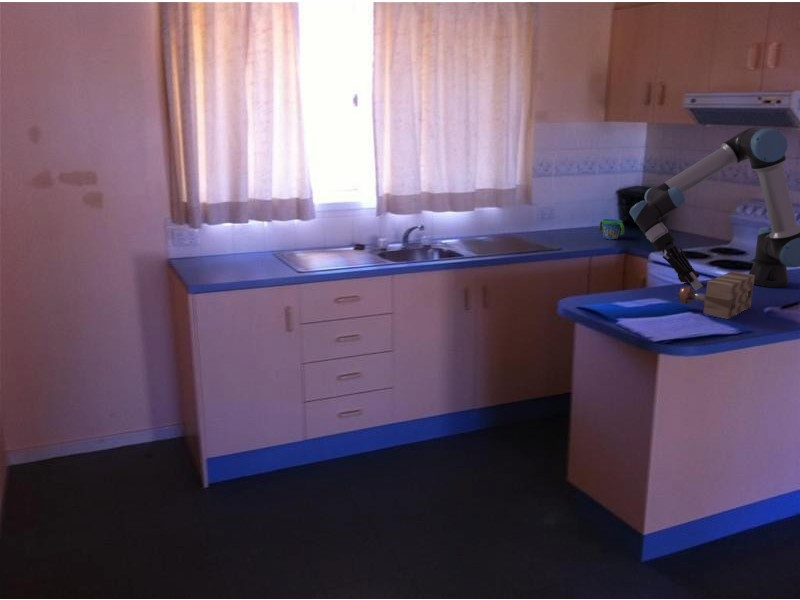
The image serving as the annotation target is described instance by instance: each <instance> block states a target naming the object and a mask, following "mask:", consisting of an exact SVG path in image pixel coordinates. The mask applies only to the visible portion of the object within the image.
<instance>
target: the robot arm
mask: <svg viewBox="0 0 800 600" xmlns="http://www.w3.org/2000/svg"><path fill="white" fill-rule="evenodd" d="M788 146H789V145H788V140H787V137H786V135H785V134H784V133H783V132H781V131H780V130H777V129H775V128H771V127H749V128H746V129H744V130H742V131H741V132H739V133H737V134H736V135H734V136H732V137H731V138H729V139H728V140H726V141H725V142H723V143H721V146H720V148H718V149H717V150H715V151H714V152H711V153H710V154H708V155H707V156H705V157H703V158H702V159H700V160H699V161H697V162H695V163H693V164H692V165H690V166H689V167H688V168H686V169H684V170H682V171H680V172H679V173H678V174H676V175H675V176H673V177H671V178H670V179H668V180H667V181H665V182H663V183H661V184H660V185H657V186H656V187H655V186H654V187H653V186H652V187H650V188H648V189H647V190H646V192H645V193H644V200H640V201H639V202H636V203H635V204H634V205H633V206H632V207H631V208H630V210H629V215H630V217H631V218H632V219H633V221H634V223H636V225H637V227H639V229H640V231H642V233H643V234H644V235H645V237H646V239H647V240H648V241H650V243H652V246H653V247H654V248H655V250H656V251H657V252H661V251H662V253H663V254H664V255H662V259H664V261H666V262H667V263H668V264H669V265H670V266H671V267H672V268H673V269H675V270H676V271H677V272H678V274H679V275H680V276H681V277H682V278H683V277H684V276H685V278H686V279H687V280H688V281H689V283H688V284H690V285H691V287H692V288H693V290H694V291H695V292H696V291H698V290H699V289H701V288H703V286H704V285H703V284H702V282H701V281H700V280H699V279H698V278H697V277H696V276H695V275H694V274H693V272H692V271H694V270H695V269H694V268H693V266H692V264H691V263H690V261H689V259H688V257H686V256H687V255H685V253H684V250H683V249H682V248H678V247H677V245H675V244H674V242H675V241H676V239H675V237H674V236H673V235H672V233H671V232H669V229H668V228H667V226H665V224H664V222H662V221H661V219H663V218H664V217H666V216H667V215H669V214H671V213H672V212H674V211H676V210H677V209H678V208H680V207H681V206H682V205H683V204H685V203H686V196H685V195H684V193H686V192H687V191H690V190H691V189H692V188H695V187H696V186H698V185H699V184H701V183H702V182H704V181H706V180H707V179H709V178H711V177H713V176H714V175H716V174H718V173H719V172H722V171H723V170H724V169H725V168H727V167H729V166H731V165H738V164H739V163H741V162H743V161H746V160H749V164H750V168H751V170H753V171H755V172H756V173H757V176H758V181H759V185H760V188H761V193H762V195H763V200H764V204H765V207H766V211H767V215H768V219H769V222H770V226H769V227H768V226H764V227H760V228H759V230H758V232H757V237H756V238H757V239H756V240H757V241H756V248H755V252H754V254H755V255H754V262H753V264H752V266H751V269H750V270H749V273H748V274H751V275H755V279H754V284H756V285H755V286H758V285H761V286H760V287H764V286H767V287H766V288H786V287H788V286H789V282H790V281H789V280H790V278H789V273H788V269H787V268H788V267H790V268H799V267H800V225H799V224H798V223H797V219H796V218H797V217H796V215H795V210H794V207H793V201H792V199H791V198H792V197H791V194H790V189H789V186H788V182H787V176H786V174H785V170H784V166H783V165H784V163H785V162H786V161H787V158H786V155H785V154H786V152H787V150H788ZM675 270H674V271H675ZM676 271H675V272H676ZM678 274H677V275H678Z"/></svg>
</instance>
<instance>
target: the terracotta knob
mask: <svg viewBox="0 0 800 600" xmlns="http://www.w3.org/2000/svg"><path fill="white" fill-rule="evenodd" d="M705 296H706V293H700V292H696V291H695V292H694V288H693V287H692V286H686V285H682V286H681V287H680V290H679V293H678V302H679V303H681V304H687V305H689V304H690V303H691V302H692V301H695V302H701V303H704V304H705Z"/></svg>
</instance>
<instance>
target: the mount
mask: <svg viewBox="0 0 800 600" xmlns="http://www.w3.org/2000/svg"><path fill="white" fill-rule="evenodd" d="M754 279H755V275H751V274H749V273H743V272H736V271H729V272H727V273H725V274H722V275H720V276H717V277H715V278H712V279H710V280H707V281H706V282H707V283H706V289H705V290H706V291H705V294H706V296H705V303H704V305H703V311H702V312H703V313H706V314H709V315H713V316H717V317H721V318H726V319H728V318H730V317H732V316H734V315H736V316H737V314H738V313H740V314H742V313H743V312H742V311H744V310H746V309H747V310H749V309H751V308H752V307H751V305H752V300H753V291H754V286H755V285H754ZM747 292H749V297H748V300H746V296H747ZM750 307H751V308H750ZM748 308H749V309H748ZM747 310H746V311H747ZM741 312H742V313H741ZM744 312H745V311H744ZM703 313H702V314H703ZM738 315H739V314H738ZM734 317H735V316H734ZM732 318H733V317H732ZM730 319H731V318H730Z"/></svg>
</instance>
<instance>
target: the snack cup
mask: <svg viewBox="0 0 800 600" xmlns="http://www.w3.org/2000/svg"><path fill="white" fill-rule="evenodd" d="M598 230H599V231H600V232H601V231H602V234H603V235H602V236H603V239H604V240H609V241H611V240H612V241H615V240H614V239H616V240H618V239H619V236H623V235H624V234H625V226H624V223H623V220H621V219H617V218H604V219H602V220H601V221H600V223H599V225H598Z"/></svg>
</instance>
